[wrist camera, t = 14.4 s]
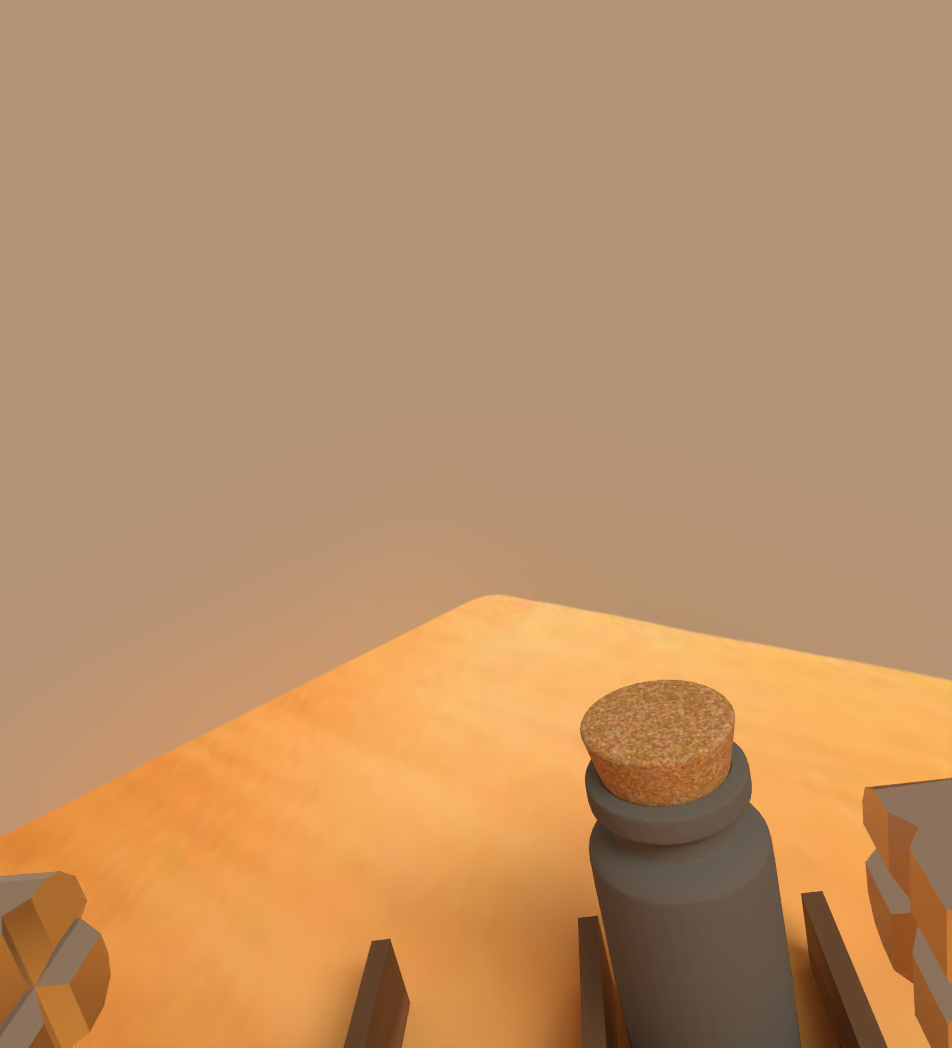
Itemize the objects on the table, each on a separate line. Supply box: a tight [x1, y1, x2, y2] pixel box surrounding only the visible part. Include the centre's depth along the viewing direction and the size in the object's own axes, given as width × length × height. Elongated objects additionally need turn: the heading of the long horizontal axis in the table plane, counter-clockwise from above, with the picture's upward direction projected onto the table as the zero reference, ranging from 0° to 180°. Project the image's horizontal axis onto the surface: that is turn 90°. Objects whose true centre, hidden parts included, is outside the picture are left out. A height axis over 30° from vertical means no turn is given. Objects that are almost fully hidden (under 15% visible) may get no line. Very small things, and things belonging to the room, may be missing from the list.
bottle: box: [580, 680, 801, 1048], centre depth 28 cm, size 6×6×15 cm
